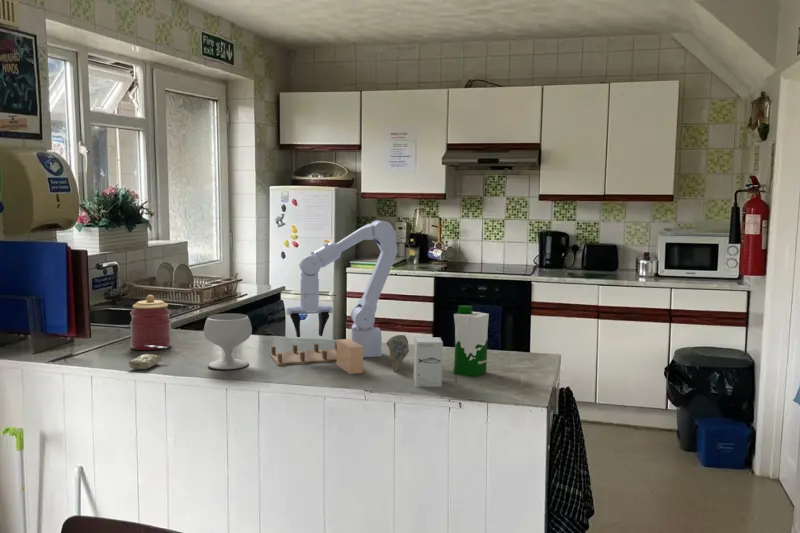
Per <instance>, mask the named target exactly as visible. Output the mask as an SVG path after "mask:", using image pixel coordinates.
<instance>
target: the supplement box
mask: <svg viewBox="0 0 800 533" xmlns="http://www.w3.org/2000/svg"><path fill="white" fill-rule="evenodd" d="M413 346H414V347H413V350H414V351H413V383H414V386H415V387H416V388H417V387H418V388H420V387H421V388H422V387H423V388H424V387H433V388H434V387H435V388H436V387H440V388H441V387H442V386H443V385H442V384H443V354H444V353H443V352H444V351H443V349H444V342H443V340H442V337H441V336H440V337H437V336H436V337H434V336H433V337H431V336H429V337H427V336H426V337H425V336H415V337H414V343H413Z"/></svg>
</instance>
